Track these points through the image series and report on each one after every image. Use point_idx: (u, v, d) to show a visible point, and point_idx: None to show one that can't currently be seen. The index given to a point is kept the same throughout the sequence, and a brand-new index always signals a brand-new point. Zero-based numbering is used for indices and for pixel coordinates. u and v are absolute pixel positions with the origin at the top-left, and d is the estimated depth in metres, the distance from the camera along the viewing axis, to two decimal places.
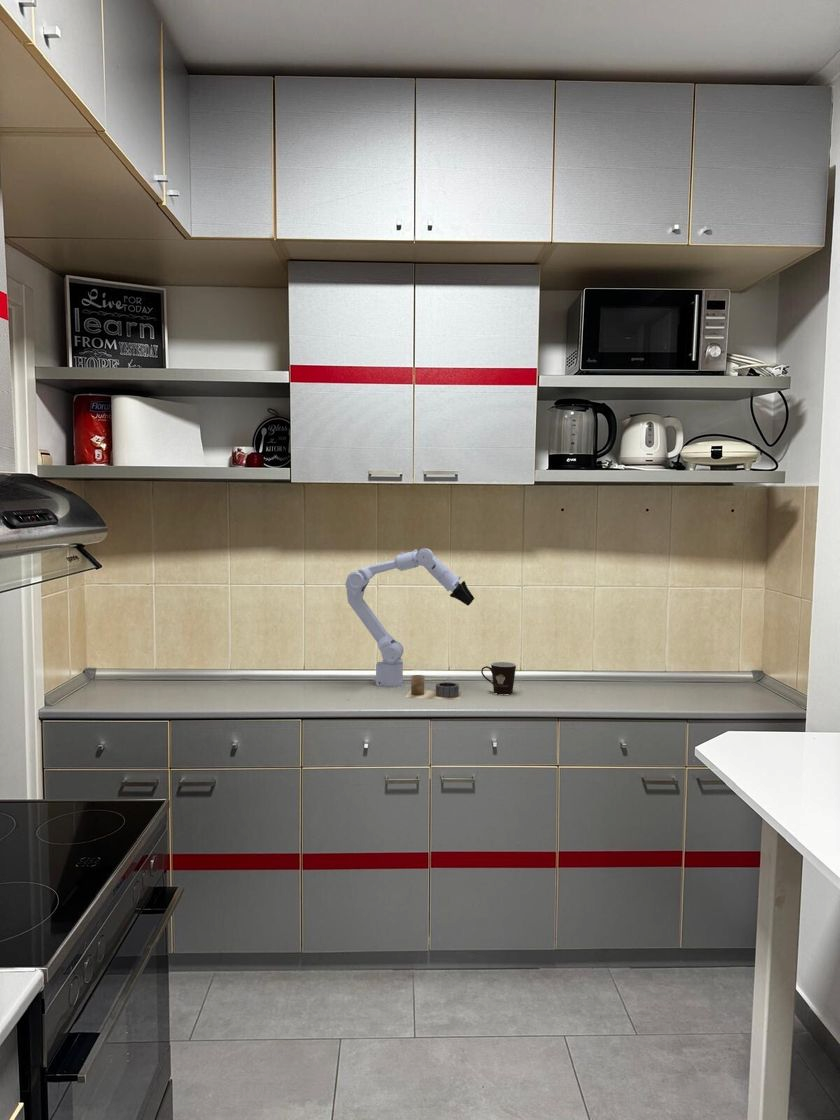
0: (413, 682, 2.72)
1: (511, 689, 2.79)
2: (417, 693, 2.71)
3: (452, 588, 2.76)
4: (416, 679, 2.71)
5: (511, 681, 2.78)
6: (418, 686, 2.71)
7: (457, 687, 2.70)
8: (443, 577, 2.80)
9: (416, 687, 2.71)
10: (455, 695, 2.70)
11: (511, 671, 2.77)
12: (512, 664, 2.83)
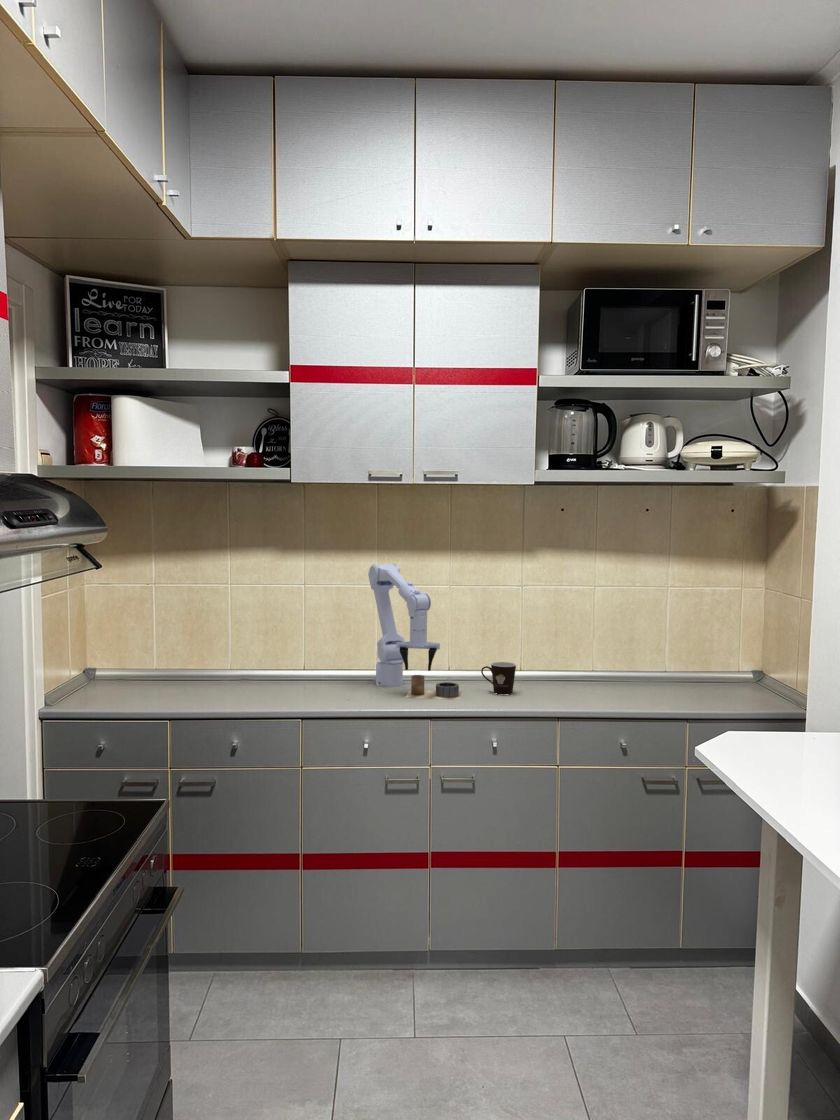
0: (413, 682, 2.72)
1: (511, 689, 2.79)
2: (417, 693, 2.71)
3: (396, 645, 2.73)
4: (416, 679, 2.71)
5: (511, 681, 2.78)
6: (418, 686, 2.71)
7: (457, 687, 2.70)
8: None
9: (416, 687, 2.71)
10: (455, 695, 2.70)
11: (511, 671, 2.77)
12: (512, 664, 2.83)
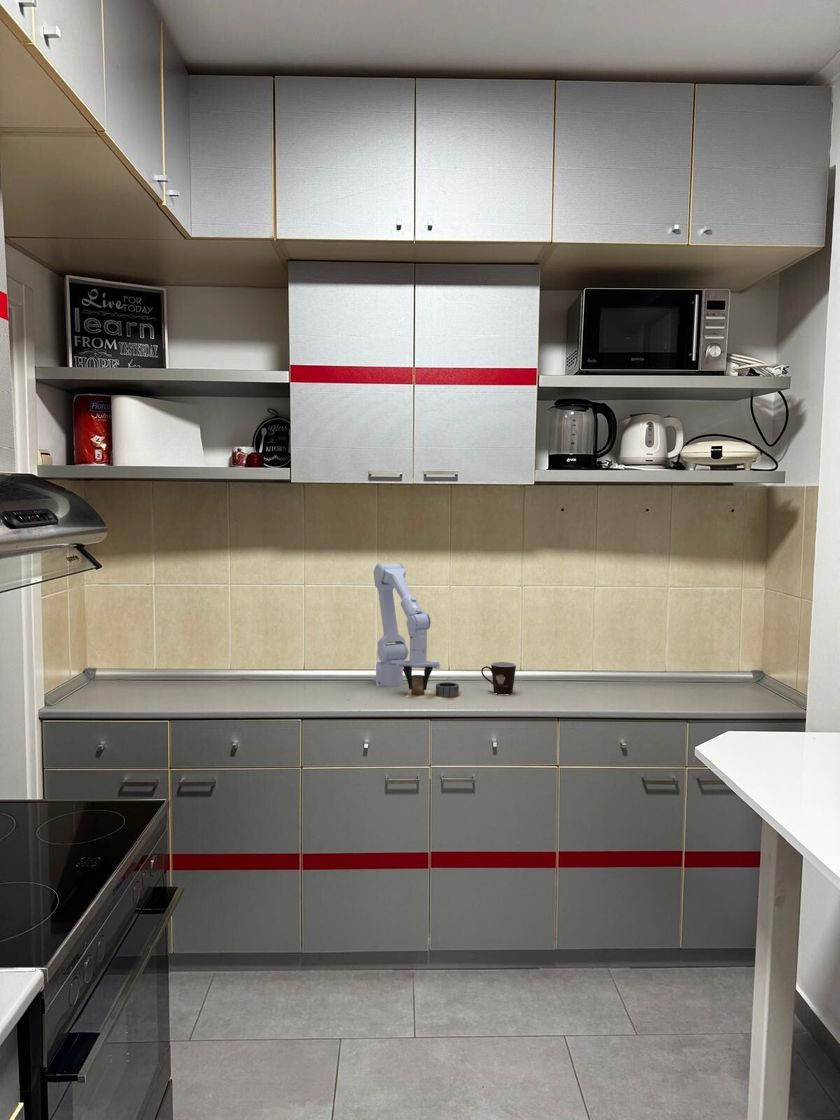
0: (413, 682, 2.72)
1: (511, 689, 2.79)
2: (417, 693, 2.71)
3: None
4: (416, 679, 2.71)
5: (511, 681, 2.78)
6: (418, 686, 2.71)
7: (457, 687, 2.70)
8: None
9: (416, 687, 2.71)
10: (455, 695, 2.70)
11: (511, 671, 2.77)
12: (512, 664, 2.83)
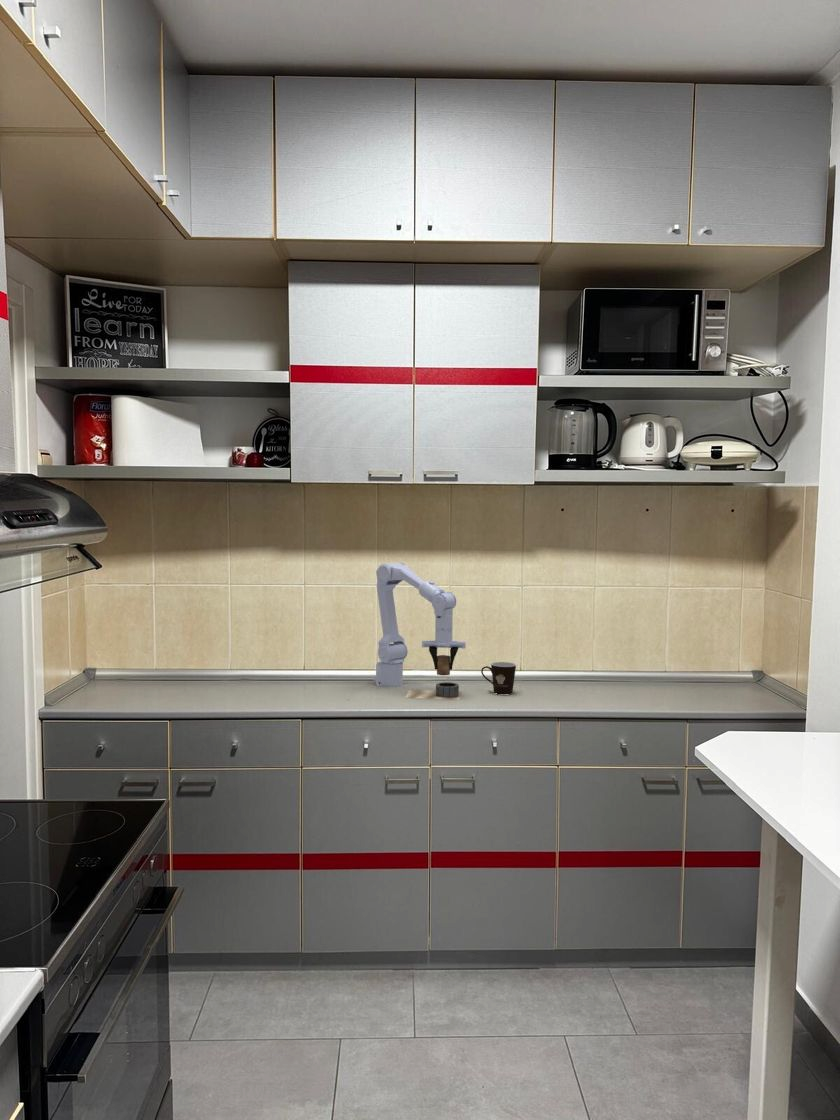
0: (439, 662, 2.70)
1: (511, 689, 2.79)
2: (443, 673, 2.70)
3: (422, 644, 2.72)
4: (442, 659, 2.70)
5: (511, 681, 2.78)
6: (444, 666, 2.70)
7: (457, 687, 2.70)
8: None
9: (441, 667, 2.70)
10: (455, 695, 2.70)
11: (511, 671, 2.77)
12: (512, 664, 2.83)
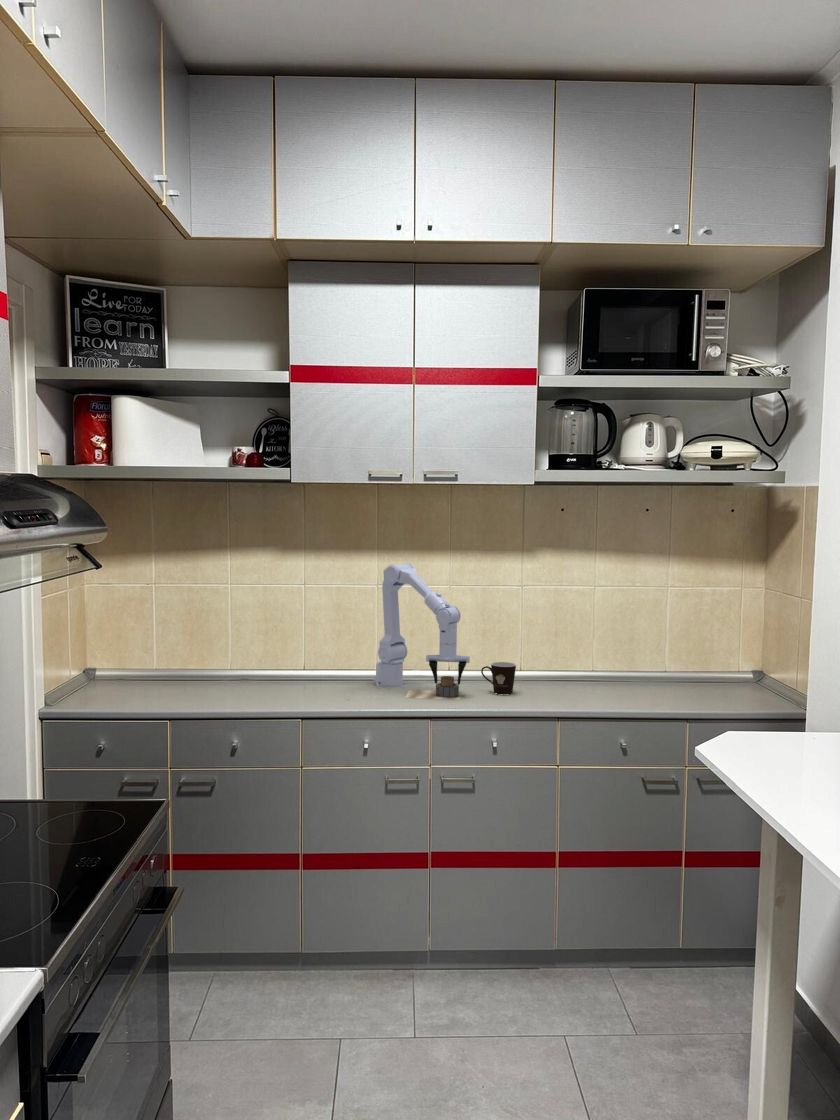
0: (443, 683, 2.71)
1: (511, 689, 2.79)
2: None
3: (426, 659, 2.72)
4: (446, 680, 2.70)
5: (511, 681, 2.78)
6: None
7: (457, 687, 2.70)
8: None
9: None
10: (455, 695, 2.70)
11: (511, 671, 2.77)
12: (512, 664, 2.83)
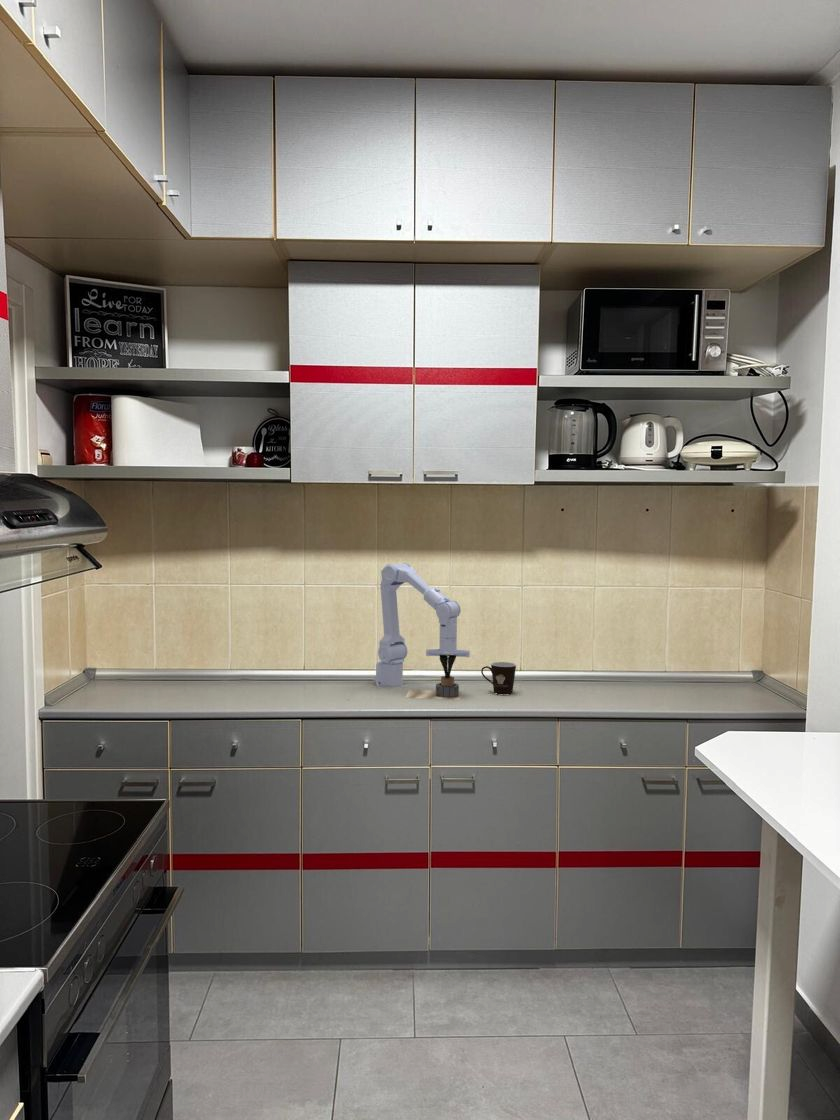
0: (443, 683, 2.71)
1: (511, 689, 2.79)
2: None
3: (426, 653, 2.72)
4: (446, 680, 2.70)
5: (511, 681, 2.78)
6: None
7: (457, 687, 2.70)
8: None
9: None
10: (455, 695, 2.70)
11: (511, 671, 2.77)
12: (512, 664, 2.83)
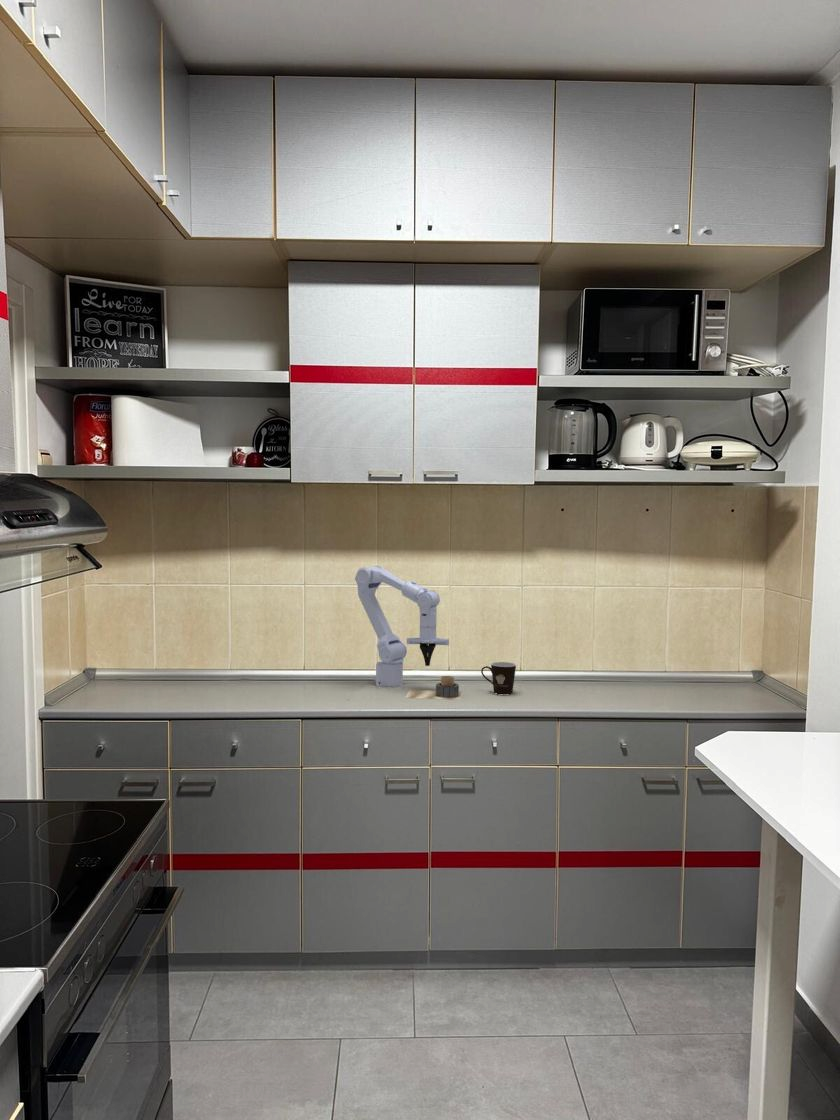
0: (443, 683, 2.71)
1: (511, 689, 2.79)
2: None
3: None
4: (446, 680, 2.70)
5: (511, 681, 2.78)
6: None
7: (457, 687, 2.70)
8: None
9: None
10: (455, 695, 2.70)
11: (511, 671, 2.77)
12: (512, 664, 2.83)
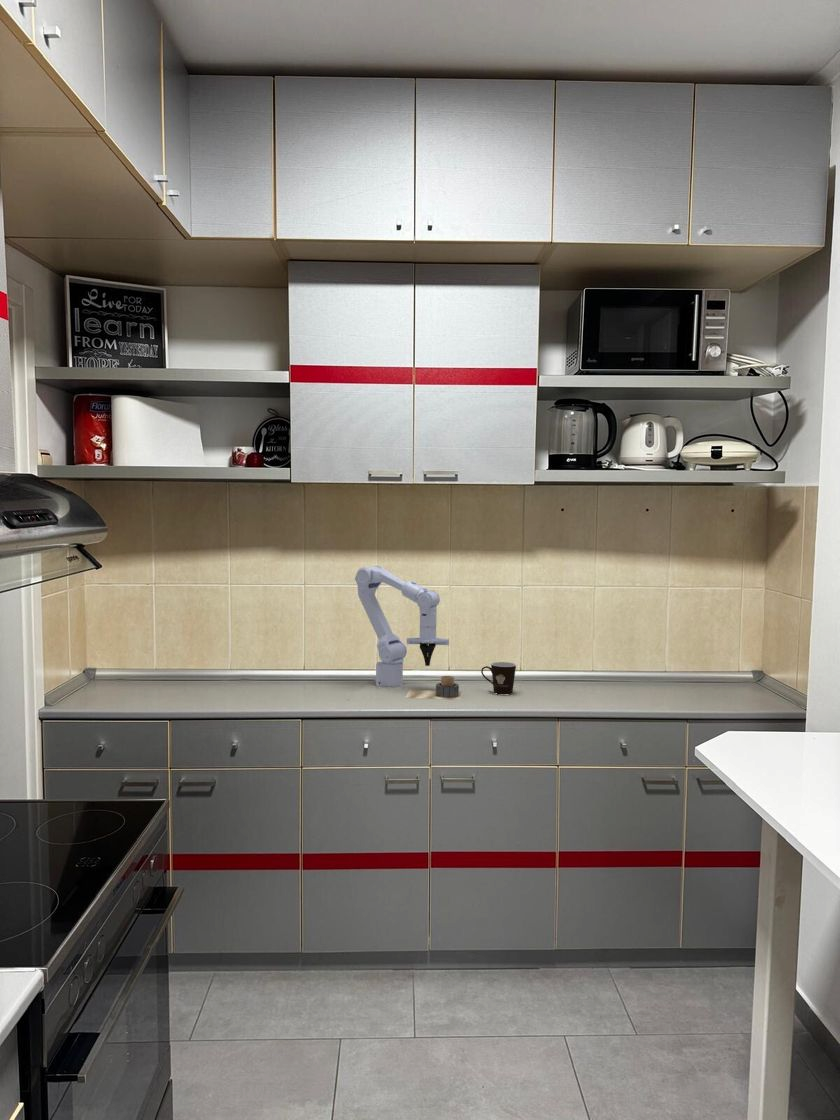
0: (443, 683, 2.70)
1: (511, 689, 2.79)
2: None
3: None
4: (446, 680, 2.70)
5: (511, 681, 2.78)
6: None
7: (457, 687, 2.70)
8: None
9: None
10: (455, 695, 2.70)
11: (511, 671, 2.77)
12: (512, 664, 2.83)
